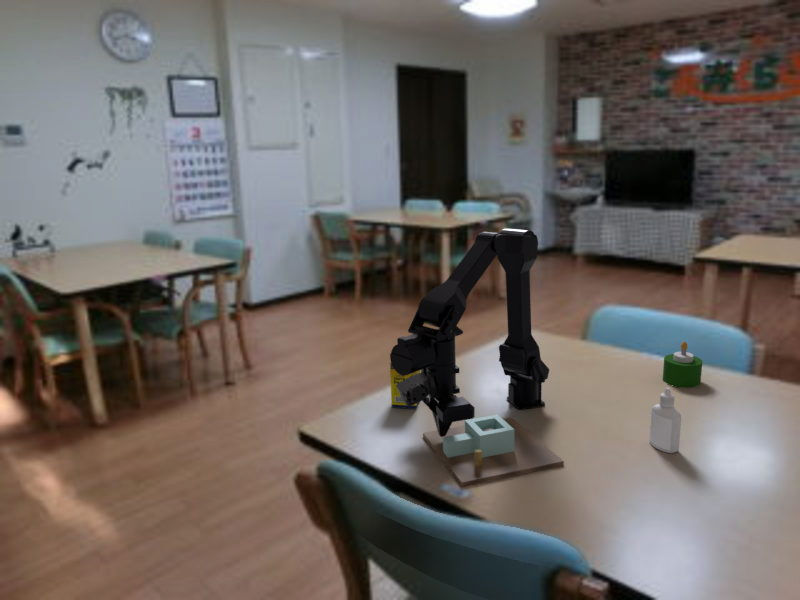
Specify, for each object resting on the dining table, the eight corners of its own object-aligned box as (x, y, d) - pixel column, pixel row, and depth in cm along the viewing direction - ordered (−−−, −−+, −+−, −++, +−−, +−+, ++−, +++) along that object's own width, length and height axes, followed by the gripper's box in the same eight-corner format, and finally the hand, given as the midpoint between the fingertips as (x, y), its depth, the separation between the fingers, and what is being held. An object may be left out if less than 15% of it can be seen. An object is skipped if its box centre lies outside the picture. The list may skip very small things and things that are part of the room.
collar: (497, 435, 122) (497, 414, 121) (514, 451, 116) (514, 429, 115) (438, 446, 119) (438, 425, 118) (452, 463, 112) (452, 441, 111)
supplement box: (417, 409, 138) (415, 363, 135) (391, 408, 139) (389, 362, 136) (421, 398, 143) (420, 354, 141) (396, 397, 145) (394, 353, 142)
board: (512, 420, 130) (512, 402, 129) (563, 465, 112) (564, 445, 111) (423, 436, 125) (422, 418, 124) (461, 486, 106) (461, 465, 105)
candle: (702, 378, 149) (706, 339, 146) (697, 390, 142) (701, 349, 139) (666, 372, 153) (668, 334, 150) (659, 384, 146) (662, 344, 144)
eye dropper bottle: (656, 454, 114) (660, 394, 111) (647, 440, 120) (651, 382, 117) (680, 454, 114) (685, 394, 111) (670, 440, 119) (674, 382, 116)
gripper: (386, 351, 123) (389, 423, 127) (416, 384, 106) (418, 465, 110) (438, 344, 127) (440, 414, 130) (475, 375, 109) (476, 454, 113)
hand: (442, 435), depth 121 cm, fingers closed
